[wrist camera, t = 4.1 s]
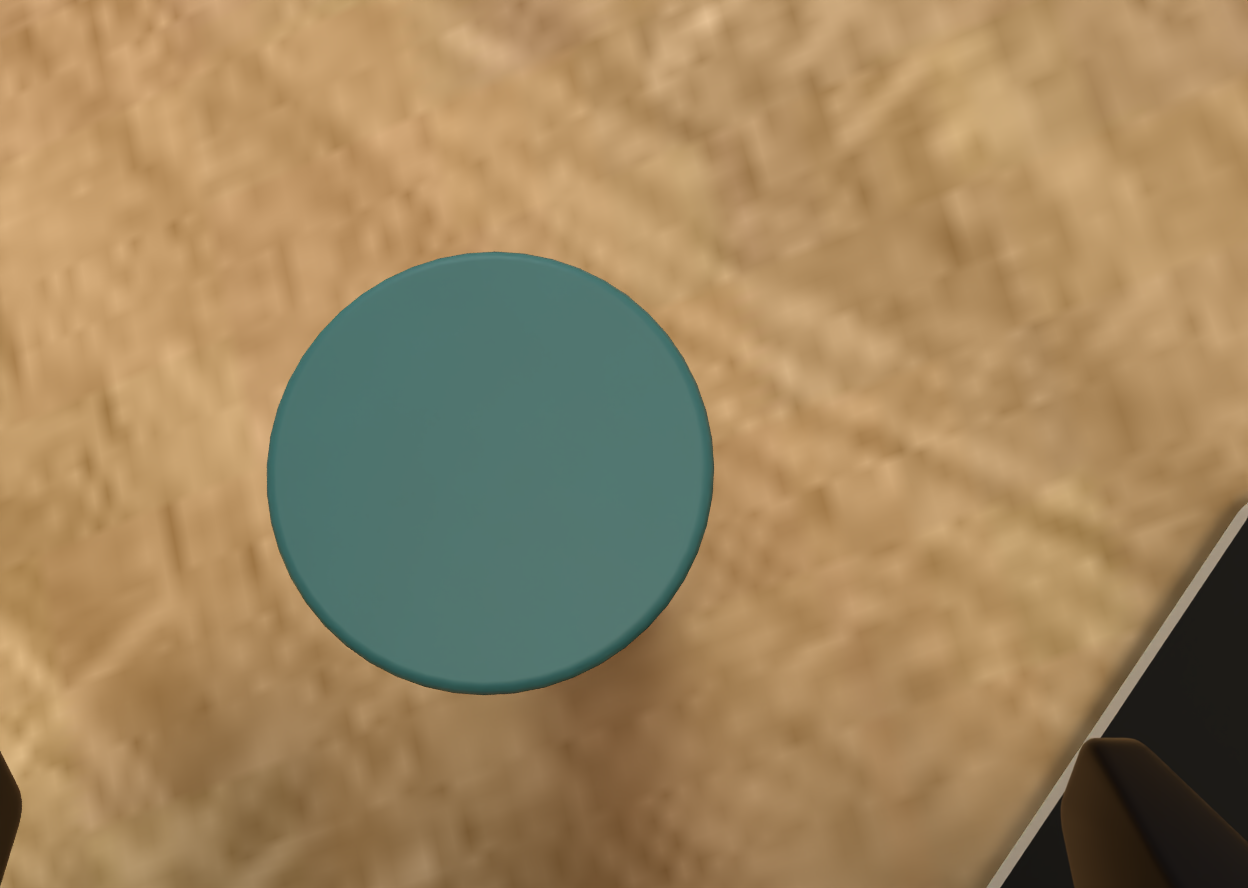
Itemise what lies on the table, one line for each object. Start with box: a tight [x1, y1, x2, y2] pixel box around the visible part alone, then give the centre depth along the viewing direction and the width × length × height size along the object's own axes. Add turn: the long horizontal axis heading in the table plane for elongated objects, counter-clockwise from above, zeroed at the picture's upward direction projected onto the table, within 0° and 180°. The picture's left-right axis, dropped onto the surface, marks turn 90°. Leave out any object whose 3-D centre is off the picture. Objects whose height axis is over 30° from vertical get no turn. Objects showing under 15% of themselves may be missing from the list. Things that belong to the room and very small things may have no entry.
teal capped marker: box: [267, 252, 714, 695], centre depth 12 cm, size 2×2×13 cm
